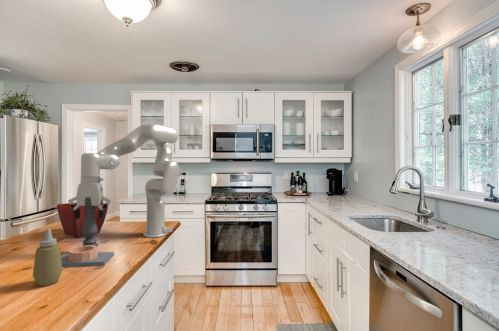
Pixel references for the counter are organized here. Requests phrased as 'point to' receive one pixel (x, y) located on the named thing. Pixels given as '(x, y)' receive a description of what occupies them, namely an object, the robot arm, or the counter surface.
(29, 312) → the counter surface
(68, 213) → the plant pot
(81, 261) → the socket board
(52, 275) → the squeeze bottle
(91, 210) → the candle holder
